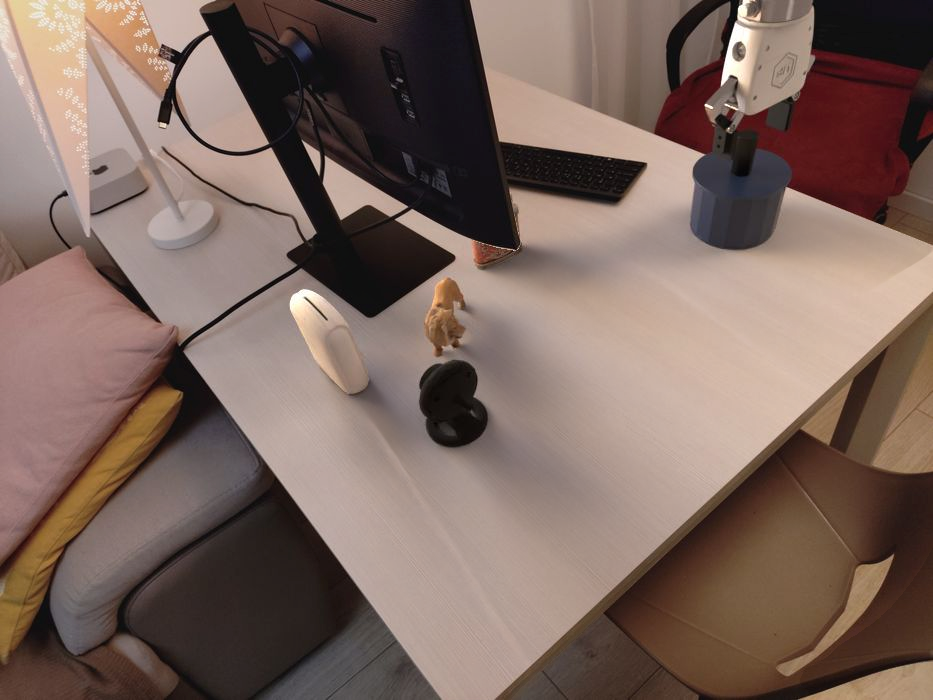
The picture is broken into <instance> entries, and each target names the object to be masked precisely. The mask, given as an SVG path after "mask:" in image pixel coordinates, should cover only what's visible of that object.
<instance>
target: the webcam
mask: <svg viewBox="0 0 933 700" xmlns="http://www.w3.org/2000/svg"><path fill="white" fill-rule="evenodd" d="M478 384H479V378H478V373H477V370H476V368H475V367H474V366H473V365H472V364H471V363H470V362H468V361H466V360H463V359H451V360H448V361H446V362H443V363H440V362H438V363H434V364H431V365H430V366H428V368H427V369H426V370H425V371H424V372H423V373H422V375H421V377H420V379H419V384H418V387H419V390H420V391H419V398H418V405H419V409H420V412H421V414H422V415H423V416H424V417H425V418H426V419H425V429H426V432H427V434H428V436H429V438H430V439H431V440H432V441H433V442H435V443H436V444H437V445H440V446H443V447H446V448H447V447H448V448H459V447H464V446H467V445H469V444H472V443H473V442H475V441H477V440H478V439H479V438H480V437H481V436H482V435H483V434H484V432H485V430H486V429H487V427H488V423H489V414H488V410H487V408H486V406H485V405H484V403H483V402H482V401H481V400H479V399H478V398H477V397H475V394H476V392H477V389H478V386H479V385H478ZM471 411H473V412H474V414H475V415H474V414H472V413H471ZM440 423H446V424H447V425H448V426H449V427H451V428H452V429H453V430H454V431H455V432H454V433H455V434H454V435H452V434H448V433H447V434H446V433H445V432H443V431H442V430H441V429H440V428H439V424H440Z"/></svg>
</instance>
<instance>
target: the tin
mask: <svg viewBox="0 0 933 700" xmlns="http://www.w3.org/2000/svg"><path fill="white" fill-rule="evenodd" d="M693 185H694V186H693V194H692V200H691V208H690V214H689V228H690V231H691V232H692V234H693V235H694V236H695V237H696V238H697V239H698V240H700V241H701V242H702V243H705V244H707V245H709V246H712V247H714V248H719V249H723V250H746V249H751V248H755V247H758V246H760V245H762V244H764V243H766V242H767V241H768V240H769V239H770V238H771V237H772V236H773V234H774V232H775V230H776V228H777V225H778V220H779V216H780V212H781V209H782V205H783V202H784V201H783V200H784V197H785V192H786V189H787V187H786V188H785V189H784V190H783V191H781V192H780V193H778V194H776V195H774V196H771V197H769V198H765V199H761V200H754V201H733V200H727V199H722V198H718V197H715V196H713V195H710V194H708V193H706V192H705V191H703V190H702V189H700V188H699V187H698V186H697V185H696V183H695V182H694V184H693Z"/></svg>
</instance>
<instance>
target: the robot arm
mask: <svg viewBox="0 0 933 700" xmlns="http://www.w3.org/2000/svg"><path fill="white" fill-rule="evenodd" d="M813 3H814V0H739V3H738V8H737V19H736V20H735V22H734V26H733V29H732V32H731V36H730V38H729V43H728V47H727V51H726V55H725V61H724V64H723V70H722V76H721V82H720V83H721V84H720V87H719V88H717V90H716V91H715V92H714V93H713V94H712V96H711V97H709V99H708V100H707V101H706V102H705V104H704V110H705V114H706V116H707V121H708V122H709V123H710V124H711V126H712V127H714V133H713V134H714V135H713V141H712V148H711V152H713V153H714V154H715V155H717V156H720V157H722V158H724V159H726V160H728V161H731V160H733V159H734V157H735V152H736V146H737V140H738V134H739V132H740V130H737V127H738V126H739V124H740V122H741V121H742V119H743V118H744V116H745V115H746V116H753V115H756V114H759V113H760V112H763V111H764V110H767V109H768V111H767V117H766V121H765V125H766V126H767V127H769V128H770V127H771V128H773V129H775V130H778V131H780V132H782V133H785V132H788V131H789V130H790V128H791V122H792V119H793V114H794V110H795V105H796V102H795V101H797V100H798V99H800V97H801V96H800V95H801V91H800V90H802V89H803V87H804V85H805V83H806V81H807V80H808V78H809V77H808V73H810V70H811V68H812V66H813V64H814V62H815V60H816V55H815V54H811V52H812V44H813V38H814V30H815V29H814V27H815V7H814V5H813ZM736 102H737V103H736ZM730 110H732V111H734V113H733V115H732V116H731V118H730V119H729V118H728V117H727V115H728V114H729V112H730Z"/></svg>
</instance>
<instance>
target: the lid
mask: <svg viewBox="0 0 933 700" xmlns="http://www.w3.org/2000/svg"><path fill="white" fill-rule="evenodd" d="M759 137H760V132H758V131H757V130H755V129H741V130H739V134H738V140H737V146H736V152H735V157H734V159H733V160H731V161H728V160H726V159H724V158H722V157H720V156H717V155H715V154H714V153H713V152H712V151H710V152H707V153H705V154H704V155H702V156H701V157H700V158H699V159H697V161H696V162H695V163H694V165H693V167H692V172H691V175H692V176H691V177H692V179H693V182H694V184H695V183H696V185H697V186H698V187H699V188H700V189H702V190H703V191H705V192H706V193H708V194H710V195H713V196H715V197H718V198H722V199H727V200H733V201H754V200H761V199H765V198H769V197H771V196H774V195H776V194H778V193H780V192H781V191H783V190H784V189H785V188H786V189H787V187H788V186H789V184H790V183H791V180H792V175H793V173H792V168H791V166H790V164H789V163H788V162H787V161H786V160H785V159H783V158H782V157H781V156H779V155H778V154H776V153H774V152H771V151H769V150H766V149H761V148H757V147H758V142H759Z"/></svg>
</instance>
